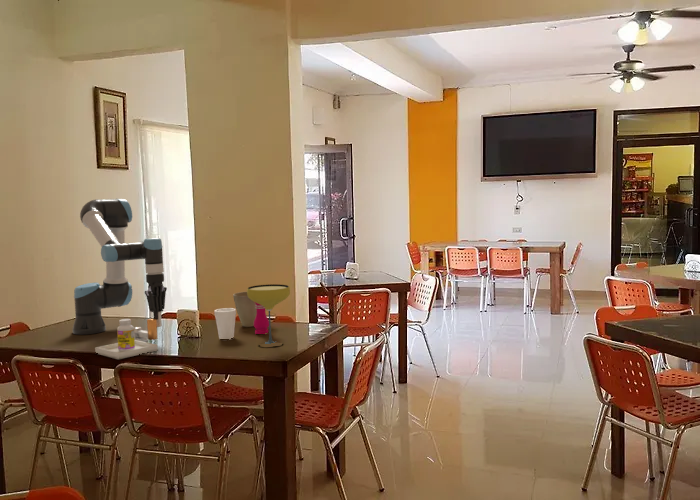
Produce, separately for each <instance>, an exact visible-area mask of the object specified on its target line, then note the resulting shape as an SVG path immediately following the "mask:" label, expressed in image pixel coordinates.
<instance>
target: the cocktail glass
mask: <svg viewBox="0 0 700 500" xmlns="http://www.w3.org/2000/svg"><path fill="white" fill-rule="evenodd" d="M246 292H247V295H248V298H249V299H251V300H252V301H254V302H256V303H258V304H260V305H262V306H264V307H265V311H268V320H269V327H268V331H269V333H268V340H267V341H264V342H265V344H271V343H275V342H276V341H275V342H274V340H273V337H272V325H271V324H272V323H271V311H272V310H273V309H274V308H275V306H277V305H278V304H279V303H282V302H283V301H285V300H286V299H288V297H290V293H291V289H290V286H289V285H287V284H278V283H277V284H276V283H275V284H271V283H270V284H259V285H252V286H248V287H247V290H246Z"/></svg>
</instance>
